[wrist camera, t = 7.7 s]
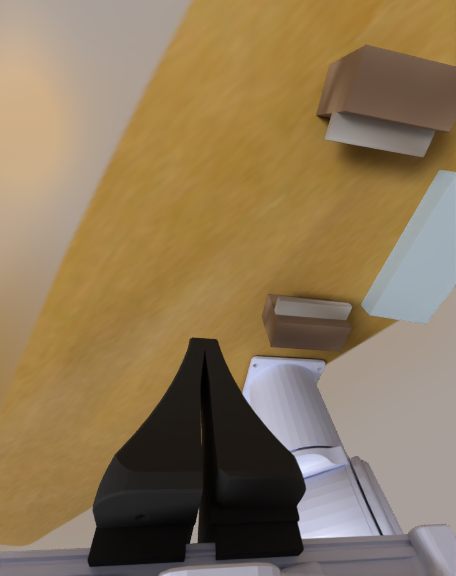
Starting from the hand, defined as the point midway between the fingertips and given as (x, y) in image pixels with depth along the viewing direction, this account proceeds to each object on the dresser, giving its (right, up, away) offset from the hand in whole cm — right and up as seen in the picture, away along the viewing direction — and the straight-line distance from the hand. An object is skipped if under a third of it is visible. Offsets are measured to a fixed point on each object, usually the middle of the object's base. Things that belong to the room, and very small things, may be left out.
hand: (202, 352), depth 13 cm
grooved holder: (+9, +8, +7) cm, 14 cm away
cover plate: (+18, +6, +9) cm, 21 cm away
